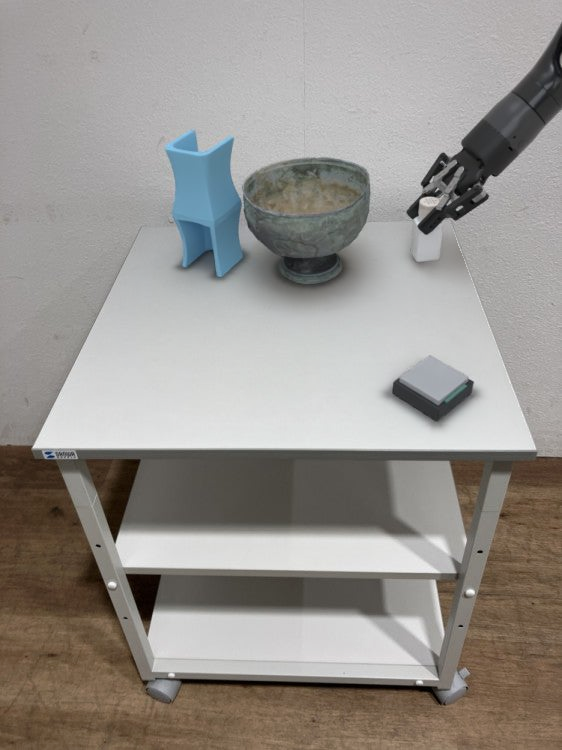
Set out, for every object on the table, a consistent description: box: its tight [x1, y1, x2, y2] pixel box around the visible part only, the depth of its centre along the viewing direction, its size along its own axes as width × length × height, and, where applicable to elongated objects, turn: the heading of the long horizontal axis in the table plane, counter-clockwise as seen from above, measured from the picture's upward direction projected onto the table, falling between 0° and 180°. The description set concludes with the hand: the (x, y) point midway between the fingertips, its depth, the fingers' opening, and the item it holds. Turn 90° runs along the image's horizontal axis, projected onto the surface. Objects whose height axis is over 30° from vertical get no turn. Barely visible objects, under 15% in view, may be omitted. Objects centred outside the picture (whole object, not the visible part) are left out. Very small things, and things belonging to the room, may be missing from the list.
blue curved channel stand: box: [164, 129, 244, 278], centre depth 98 cm, size 8×8×20 cm
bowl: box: [241, 156, 371, 285], centre depth 96 cm, size 20×19×15 cm
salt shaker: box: [409, 197, 444, 263], centre depth 97 cm, size 4×4×10 cm
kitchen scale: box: [391, 354, 475, 422], centre depth 77 cm, size 7×7×3 cm
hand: (416, 223), depth 96 cm, fingers closed on salt shaker, 4 cm apart
